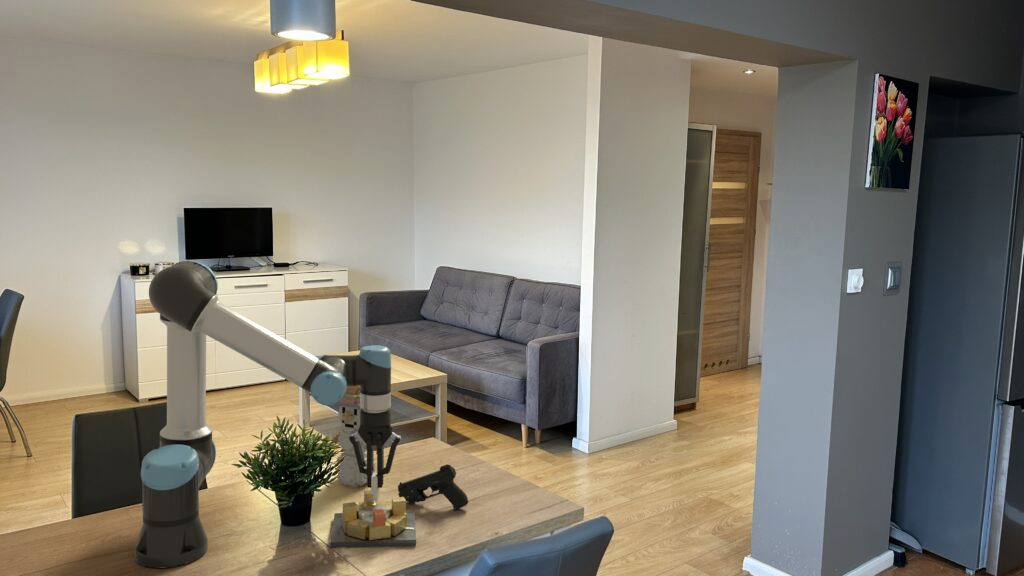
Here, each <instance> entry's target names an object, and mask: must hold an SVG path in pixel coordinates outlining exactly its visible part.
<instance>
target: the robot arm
mask: <svg viewBox="0 0 1024 576" xmlns="http://www.w3.org/2000/svg"><path fill="white" fill-rule="evenodd" d="M217 279H218V278H217V276H216V275H215V273H214V271H212V269H211V268H210V267H209V266H208V265H206V264H204V263H202V262H199V261H196V260H195V261H194V260H186V261H185V260H183V261H179V262H176V263H174V264H173V265H171V266H168V267H166V268H163V269H161V270H159V271H158V272H157V273H156V274H155V275H154V277H152V279H151V281H150V283H149V286H148V297H149V301H150V304H151V305H152V307H153V308H154V310H155V311H157V313H158V314H159V321H160V322H161V323H162V324H164V325H165V326H166V425H165V426H164V427H163V428H162V429H161V430H160V431H159V447H158V448H157V449H156V448H155V449H152V450H151V451H149V452H148V453H147V454H146V455H145V456H144V457H143V459H142V461H141V468H140V479H141V499H142V500H141V502H142V525H141V528H140V531H139V535H138V538H137V540H136V542H135V546H134V559H135V561H136V563H137V564H139V565H140V564H141V566H143V565H144V566H143V567H146V566H149V567H148V568H151V567H170V568H173V567H172V566H176V567H179V566H178V565H181V566H183V565H182V564H184V565H187V564H186V563H188V564H190V563H192V561H193V562H195V561H197V560H199V559H200V558H201V556H202V557H203V556H204V555H205V554H206V553H207V551H208V547H209V545H208V541H209V540H208V536H207V533H206V531H205V528H204V526H203V523H202V521H201V518H200V509H199V508H200V505H199V504H200V501H199V500H200V499H199V497H200V496H199V494H200V487H201V485H202V483H203V482H204V480H205V478H206V476H207V475H208V474H210V472H211V470H212V468H213V466H214V464H215V461H216V457H217V448H216V444H215V441H214V440H213V428H212V427H211V426H210V424H208V423H207V422H206V415H207V414H206V410H207V406H206V405H207V403H206V401H207V400H206V399H207V398H206V397H207V395H206V394H207V393H206V392H207V390H206V389H207V337H209V338H211V339H213V340H215V341H216V342H219V343H220V344H222V345H224V346H226V347H228V348H229V349H231V350H233V351H235V353H238V354H240V355H241V356H243V357H245V358H248V359H249V360H251V361H252V362H254V363H256V364H258V365H260V366H262V367H263V368H265V369H267V370H269V371H271V372H272V373H274V374H275V375H278V376H279V377H281V378H283V379H286V381H289V382H290V383H293V384H294V385H296V386H298V387H299V388H301V389H303V390H305V391H306V392H308V393H310V394H311V396H312V399H314V401H315V402H317V403H318V404H319V405H322V406H327V407H328V406H334V405H335V404H336V403H338V402H339V401H340V400H341V399H342V398H343V396H344V394H345V393H346V389H347V386H360V408H361V410H360V427H359V429H358V432H356V433H352V434H351V436H350V437H349V440H350V442H351V443H352V445H353V447H354V451H355V455H356V459H357V463H358V467H359V471H360V473H364V474H366V475H367V482H366V487H367V488H370V490H371V494H372V495H373V502H377V501H378V500H379V498H380V489H381V488H383V486H384V475H389V473H391V472H390V471H391V469H392V466H393V461H394V457H395V454H396V450H397V446H398V444H399V443H400V441H401V439H402V435H401V434H396V433H395V432H393V431H394V430H393V428H392V425H391V423H392V421H391V419H392V416H391V415H392V411H391V409H390V408H391V406H392V402H391V401H392V390H391V389H392V358H391V356H392V354H391V352H392V351H391V350H390V349H389V347H387V346H385V345H378V344H377V345H376V344H375V345H373V344H372V345H365V346H362V347H361V348H360V349H359V354H356V355H355V354H353V355H350V354H348V355H345V354H342V355H341V354H340V355H338V354H337V355H329V354H322V355H313V354H311V353H310V352H308V351H306V350H305V349H303V348H301V347H299V346H297V345H295V344H294V343H292V342H291V341H289V340H287V339H285V338H283V337H282V336H279V335H278V334H276V333H274V332H273V331H271V330H269V329H268V328H266V327H264V326H262V325H261V324H258V323H257V322H255V321H254V320H252V319H250V318H248V317H246V316H244V315H243V314H241V313H239V312H238V311H236V310H234V309H232V308H231V307H230V306H227V305H226V304H223V303H221V302H220V301H219V297H218V295H217V293H218V292H217V291H218V288H219V287H218V286H219V285H218V280H217ZM360 436H361V438H362V439H363V441H364V442H365V443H366V449H367V467H366V464H365V460H364V456H363V452H362V448H361V444H360V441H359V440H360ZM389 439H390V442H391V445H390V448H389V451H388V455H387V459H386V464H385V459H384V458H385V457H384V456H385V449H384V448H385V444H386V442H387V441H388V440H389ZM374 445H376V446H377V454H376V472H375V473H373V471H374V463H375V457H374V455H375V453H374V452H375V451H374ZM384 465H385V466H384ZM198 558H199V559H198ZM196 559H197V560H196ZM194 560H195V561H194ZM189 562H190V563H189Z"/></svg>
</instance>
